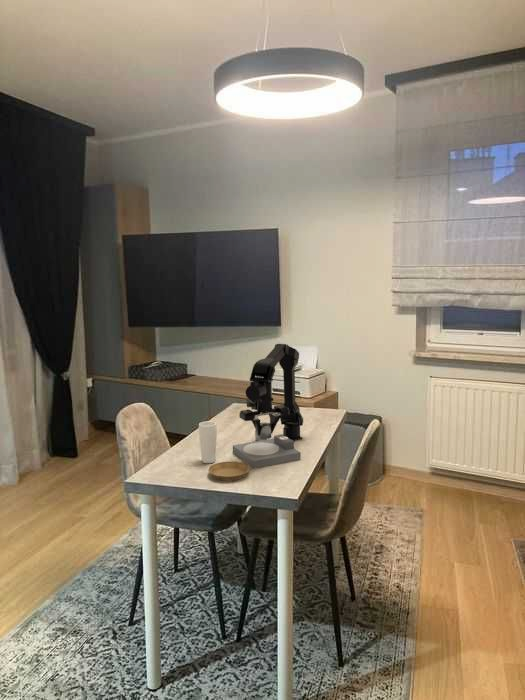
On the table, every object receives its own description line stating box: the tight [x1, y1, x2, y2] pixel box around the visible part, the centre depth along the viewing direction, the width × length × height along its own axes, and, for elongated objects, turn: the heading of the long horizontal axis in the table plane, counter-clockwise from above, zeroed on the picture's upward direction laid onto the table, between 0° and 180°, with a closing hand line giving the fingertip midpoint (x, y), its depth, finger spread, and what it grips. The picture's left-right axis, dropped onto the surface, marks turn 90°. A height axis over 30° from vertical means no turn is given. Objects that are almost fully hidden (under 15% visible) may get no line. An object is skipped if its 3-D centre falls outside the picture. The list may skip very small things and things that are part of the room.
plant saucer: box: [207, 460, 251, 482], centre depth 189 cm, size 15×15×3 cm
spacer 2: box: [254, 429, 267, 442], centre depth 225 cm, size 5×5×5 cm
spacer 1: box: [258, 422, 272, 439], centre depth 202 cm, size 5×5×5 cm
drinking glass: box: [198, 420, 218, 464], centre depth 202 cm, size 7×7×15 cm
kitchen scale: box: [232, 434, 302, 470], centre depth 207 cm, size 20×20×6 cm
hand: (264, 434), depth 202 cm, fingers closed on spacer 1, 5 cm apart
